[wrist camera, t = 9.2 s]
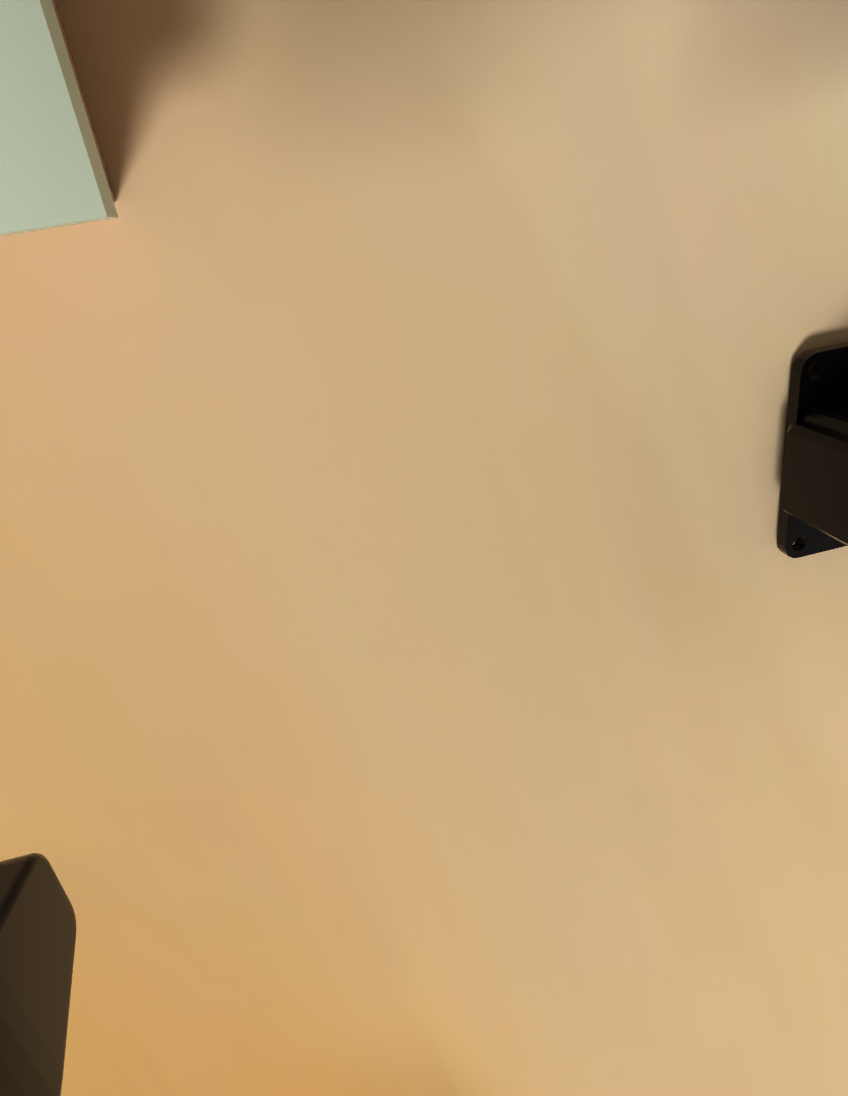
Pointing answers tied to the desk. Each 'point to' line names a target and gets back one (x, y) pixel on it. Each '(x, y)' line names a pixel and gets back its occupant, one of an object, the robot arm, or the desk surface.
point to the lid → (44, 128)
